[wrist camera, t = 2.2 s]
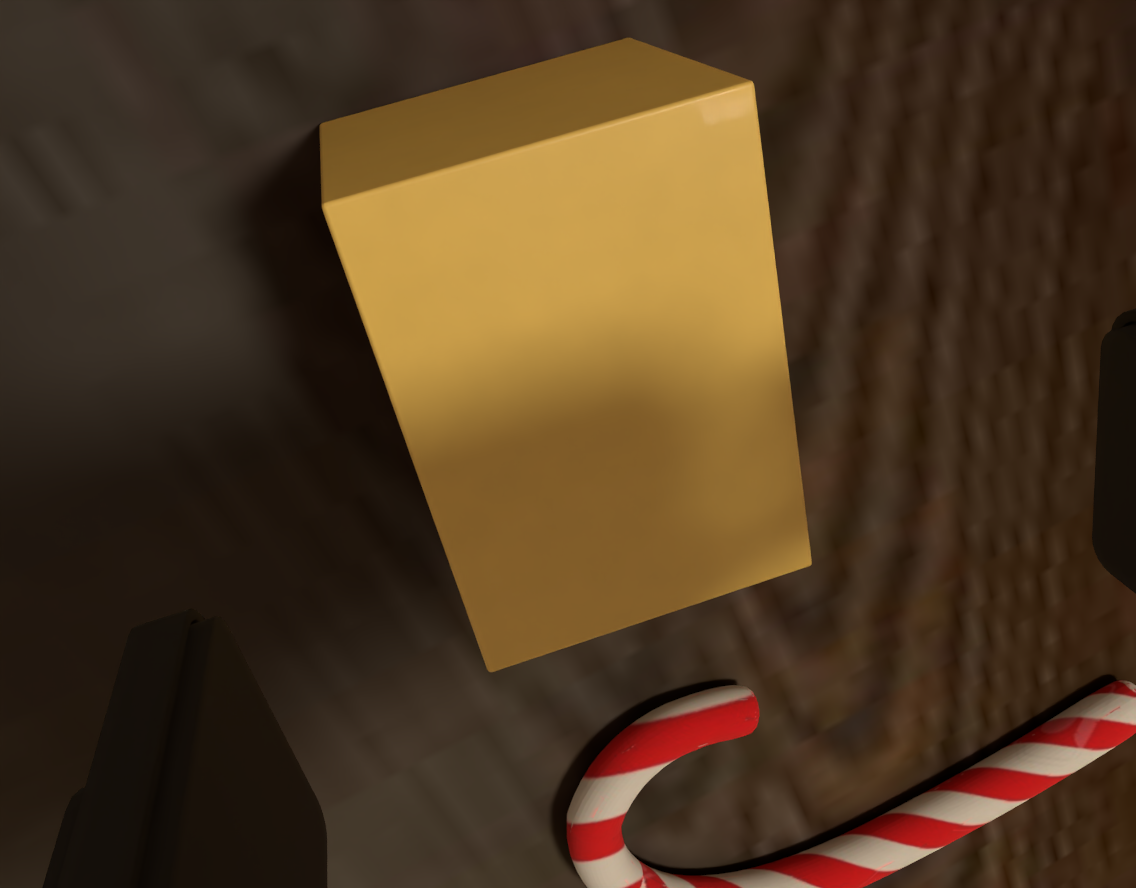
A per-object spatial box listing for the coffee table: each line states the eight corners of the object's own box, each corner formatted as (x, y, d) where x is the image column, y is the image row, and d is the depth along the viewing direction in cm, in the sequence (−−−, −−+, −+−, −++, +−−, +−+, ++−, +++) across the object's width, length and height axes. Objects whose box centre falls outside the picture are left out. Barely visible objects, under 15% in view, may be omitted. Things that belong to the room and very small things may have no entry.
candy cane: (1149, 805, 26) (606, 989, 24) (1114, 769, 27) (592, 941, 25) (1190, 573, 22) (548, 772, 20) (1148, 542, 23) (536, 727, 21)
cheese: (317, 123, 15) (319, 204, 11) (630, 36, 15) (755, 80, 11) (447, 499, 18) (488, 674, 14) (698, 419, 19) (813, 566, 14)
